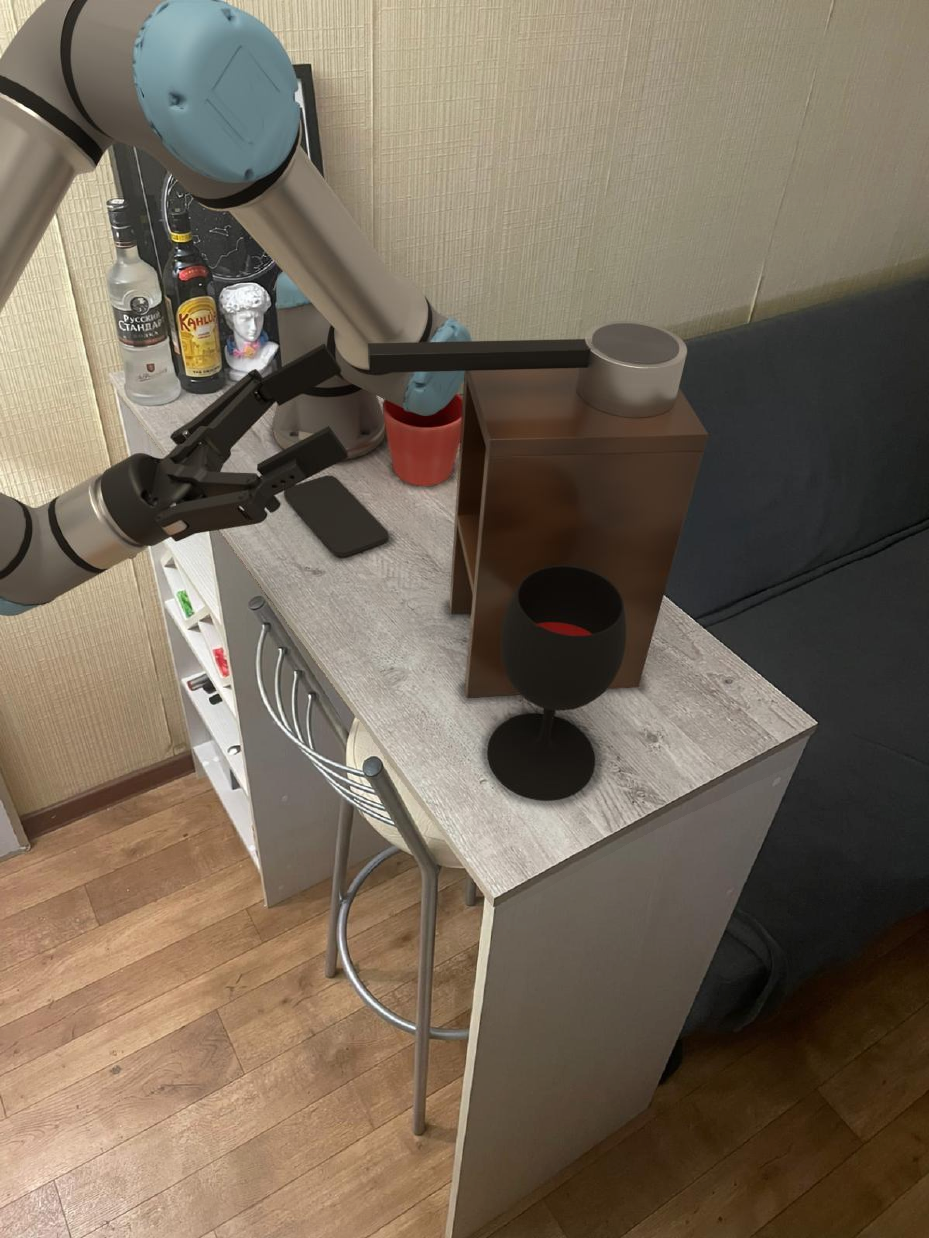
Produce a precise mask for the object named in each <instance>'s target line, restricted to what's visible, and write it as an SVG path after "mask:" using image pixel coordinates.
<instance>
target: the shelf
mask: <svg viewBox="0 0 929 1238" xmlns="http://www.w3.org/2000/svg"><path fill="white" fill-rule="evenodd" d="M464 372H465V373H464V380H463V385H462V386H463V389H462V398H463V402H462V417H461V432H460V444H459V447H458V450H459V451H458V464H457V466H458V467H457V479H456V480H457V481H456V494H455V495H456V496H455V498H456V499H455V512H454V526H453V543H452V557H451V570H450V571H451V573H450V588H449V601H448V606H449V612H450V614H451V615H461V614H462V615H463V614H470V623H469V637H468V645H467V647H468V648H467V659H466V670H465V683H464V689H465V690H464V691H465V695H466V698H467V699H469V698H484V697H499V696H515V695H517V696H518V695H521V694H520V693H519V692H518V691H517V690H516V689H515V687H514V686H513V685H512V684H511V682H510V680H509V678H508V677H507V675H506V673H505V670H504V667H503V663H502V659H501V651H500V637H501V629H502V624H503V620H504V617H505V614H506V611H507V608H508V606H509V603H510V601H511V599H512V597H513V595H514V593H515V591H516V589H517V588H518V586H519V584H520V583H521V582H522V580H523V579H524V578H525V577H526V576H527V575H529V574H530V573H532V572H534V571H536V570H538V569H541V568H544V567H549V566H558V565H566V566H576V567H580V568H585V569H588V570H590V571H593V572H595V573H598V574H600V575H601V576H603V577H605V578H606V579H607V580H609V581H610V582H611V583H612V584H613V585H614V586H615V587H616V588H617V589H618V591H619V592H620V594H621V596H622V599H623V603H624V609H625V616H626V645H625V651H624V656H623V660H622V663H621V666H620V669H619V671H618V673H617V675H616V677H615V678H614V680H613V682H612V683H611V684H610V686H609V687H608V688H607V690H610V689H624V688H627V689H628V688H638V687H639V686H640V683H641V679H642V675H643V672H644V669H645V666H646V665H645V664H646V661H647V657H648V654H649V650H650V646H651V643H652V639H653V635H654V633H655V628H656V625H657V621H658V617H659V615H660V610H661V606H662V603H663V600H664V597H665V593H666V589H667V586H668V581H669V578H670V574H671V571H672V567H673V563H674V559H675V556H676V552H677V549H678V545H679V541H680V538H681V534H682V531H683V527H684V523H685V520H686V517H687V513H688V510H689V506H690V502H691V498H692V495H693V491H694V487H695V484H696V480H697V478H698V477H697V476H698V473H699V470H700V466H701V462H702V459H703V455H704V451H705V448H706V445H707V442H708V438H709V433H708V432H707V430H706V428H705V427H704V425H703V424H702V422H701V420H700V418H699V417H698V416H697V414H696V412H695V411H694V409H693V408H692V406H691V405H690V403H689V401H688V400H687V398H686V396H685V395H684V393H683V392H682V390H681V389H680V387H679V388H678V392H677V396H676V400H675V403H674V405H673V407H672V408H671V409H669V410H668V411H667V412H665V413H662V414H660V415H656V416H652V417H643V418H631V417H622V416H617V415H612V414H609V413H606V412H603V411H600V410H598V409H596V408H594V407H592V406H590V405H589V404H587V403H586V402H585V401H584V400H583V399H582V398H581V397H580V395H579V394H578V391H577V381H578V375H579V368H556V369H516V370H475V371H464Z"/></svg>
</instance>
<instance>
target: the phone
mask: <svg viewBox="0 0 929 1238" xmlns="http://www.w3.org/2000/svg"><path fill="white" fill-rule="evenodd" d="M283 497H284V499H285V500H286V502H288V503H289V504H290V506H291V507H292V508H293V509H294V511H295V512H296V513H297V514H298V515H299V516H300V517H301V518H302V520H303V521H304V522H305V523H306V524H307V526H308V527H309V528H310V529H311V530H312V532H314V534H315V535H316V536H317V537H318V538H319V539H320V541H321V542H322V543H323V544H324V545H325V546H326V547H327V548H328V550H329V551H330V552H331V553H332V554H333V555H334V556H336V557H339V558H345V557H349V556H352V555H355V554H358V553H361V552H363V551H366V550H368V549H372V548H374V547H378V546H380V545H383V544H385V543H386V542H388V541H389V532H388V530H387V529H386V528H385V527H384V526H383V525H382V524H381V523H380V522H379V521H378V519H377V518H376V517H375V516H374V515H372V514H371V512H370V511H369V510H368V509H367V508H366V507H365V506H364V505H363V504H362V503H361V502H360V501H359V500H358V498H356V496H355V495H353V493H352V492H350V490H348V488H347V487H346V486H345V485H344V484H343V483H342V482H341V481H340V480H339V479H338V478H337V477H335V476H334V475H324V476H323V475H322V476H320V477H316V478H313V479H311V480H306V481H304V482H303V481H302V482H300V483H298V484H296V485H294V486H292V487H290V488H288V489H286V490H284V491H283Z"/></svg>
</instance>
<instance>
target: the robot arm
mask: <svg viewBox="0 0 929 1238" xmlns="http://www.w3.org/2000/svg"><path fill="white" fill-rule="evenodd" d="M298 91H299V82H298V78H297V74H296V71H295V69H294V65H293V63H292V61H291V59H290V57H289V55H288V53H287V51H286V49H285V47H284V46H283V44H282V42H281V41H280V40H279V39H278V37H277V36H276V35H275V33H274V32H273V31H272V30H271V29H270V28H269V27H268V26H267V25H266V24H265V23H264V22H262V21H261V20H260V19H259V18H258V17H255V16H254V15H253V14H251V13H249V12H247V11H244V10H242V9H240V8H239V7H236V6H235V5H231V4H230V3H228V2H226V1H224V0H44V1H43V2H41V4H40V5H39V6H38V7H37V8H36V9H35V10H34V12H32V14H30V16H29V17H28V18H27V19H26V20H25V21H24V23H23V24H22V25H21V27H20V28H19V29H18V31H17V32H16V34H14V36H13V38H12V40H11V41H10V43H9V45H7V47H6V48H5V50H4V52H3V54H2V55H1V57H0V314H2V311H3V310H4V308H5V306H6V304H7V303H8V301H9V299H10V297H11V295H12V294H13V291H14V289H15V288H16V286H17V284H18V282H19V280H20V278H21V277H22V275H23V273H24V272H25V270H26V268H27V266H28V264H29V262H30V261H31V259H32V257H33V256H34V253H35V252H36V250H37V248H38V246H39V244H40V243H41V240H42V238H44V235H45V233H46V231H47V230H48V228H49V226H50V224H51V223H52V220H53V218H54V217H55V215H56V213H57V211H58V210H59V208H60V206H61V204H62V202H63V200H64V198H65V197H66V195H67V194H68V191H69V190H70V188H71V185H72V184H73V182H74V180H75V178H76V177H78V176H79V175H84V174H89V173H94V172H95V170H96V168H97V167H98V166H99V163H100V161H101V160H102V158H103V156H104V154H105V153H106V152H107V150H108V149H109V148H110V147H111V146H113V145H114V144H115V143H117V142H120V143H122V144H125V145H128V146H130V147H133V148H136V149H138V150H141V151H143V152H145V153H147V154H148V155H150V156H151V157H153V158H154V159H155V160H157V161H158V162H159V163H160V164H161V166H162V167H164V169H165V170H166V171H167V172H168V173H170V175H171V176H172V177H173V179H175V180H176V181H177V182H178V183H179V184H180V185H181V186H182V187H183V189H185V191H186V192H187V193H188V194H189V195H190V196H191V197H192V199H194V200H195V201H196V202H197V203H198V204H199V205H201V206H202V207H204V208H206V209H208V210H211V211H216V212H229V213H230V214H231V215H232V216H233V218H234V219H235V220H236V221H237V222H238V223H239V224H240V225H241V226H242V228H244V229H245V231H246V232H247V233H248V234H249V235H250V237H252V238H253V240H254V241H255V242H256V243H257V244H258V245H259V247H261V249H262V250H263V251H265V253H266V254H267V255H268V256H269V257H270V258H271V260H272V261H273V262H274V263H275V264H276V266H277V267H278V268H279V269H280V270H281V271H282V272H280V274H279V276H278V277H277V280H276V284H275V290H276V291H275V292H276V302H275V304H274V306H275V311H276V319H277V321H276V322H277V330H278V331H277V332H278V338H279V350H280V359H281V360H280V361H281V367H279V368H278V369H276V370H274V371H272V372H271V373H269V374H267V375H265V376H264V377H263V376H262V374H261V372H259V370H258V369H257V368H254V369H251V370H249V372H247V374H245V375H244V376H243V377H242V378H241V379H239V380H238V381H237V382H236V383H234V384H233V385H232V386H231V387H230V388H229V389H227V390H226V391H225V392H224V393H223V394H221V395H220V396H219V397H218V398H216V399H215V400H214V401H213V402H212V403H210V404H209V405H208V406H207V407H206V408H204V410H201V412H200V413H198V414H197V415H196V416H194V418H192V419H191V420H190V421H188V422H187V423H186V424H183V425H182V426H181V427H179V428H177V429H176V430H174V431H173V432H172V433H171V434H170V436H169V438H170V439H171V440H172V442H173V443H174V444H175V445H176V446H175V447H174V448H173V449H172V450H171V451H170V452H169V453H168V454H167V455H165V457H163V458H159V457H155V456H152V455H150V454H148V453H144V452H137V453H134V454H132V455H129V456H128V457H126V458H124V459H122V460H121V461H119V462H117V463H115V464H114V465H112V466H110V467H108V468H106V469H105V470H104V471H103V473H97V474H94V475H93V476H91V477H89V478H87V479H85V480H84V481H81V482H80V483H79V484H77V485H75V486H73V487H72V488H70V489H68V490H66V491H65V492H63V493H61V494H60V495H58V496H56V497H54V498H52V499H51V500H50V501H48V502H46V503H44V504H42V505H40V506H37V507H32V506H30V505H27V504H26V503H24V502H22V501H20V500H18V499H16V498H14V497H12V496H10V495H7V494H6V493H3V492H1V491H0V616H5V617H14V616H19V615H22V614H24V613H26V612H29V611H30V610H33V609H35V608H38V607H39V606H42V607H43V606H45V605H47V604H50V603H52V602H54V600H56V599H57V598H59V597H60V596H62V595H65V594H67V593H68V592H70V591H72V590H73V589H75V588H77V587H79V586H81V585H82V584H85V583H86V582H88V581H90V580H91V579H93V578H95V577H97V576H99V575H101V574H102V573H105V572H106V571H108V570H109V569H111V568H113V567H114V566H117V565H119V564H121V563H122V562H124V561H127V560H128V559H129V560H133V559H135V558H137V556H138V554H140V553H141V552H143V551H145V550H147V548H148V547H153V546H156V545H158V544H160V543H162V542H164V541H166V540H168V539H172V540H173V541H174V542H179V541H182V540H184V539H187V538H189V537H191V536H193V535H195V534H201V533H209V532H215V531H220V530H226V529H232V528H239V527H245V526H251V525H258V524H261V523H263V522H265V520H266V519H267V518H268V515H269V514H268V512H269V513H270V514H273V513H275V512H276V511H278V510H279V509H280V507H281V505H282V503H281V501H280V500H279V499H278V498H277V497H276V496H277V495H279V494H280V493H283V492H284V490H286V489H288V488H290V487H292V486H294V485H297V484H300V483H303V481H305V480H307V479H309V478H311V477H313V476H316V475H317V474H318V473H321V472H322V471H324V470H326V469H328V468H330V467H332V466H334V465H336V464H338V463H340V462H342V461H346V460H347V461H348V460H352V459H356V458H360V457H362V456H364V455H366V454H369V453H371V452H372V451H374V450H375V449H376V448H378V447H379V446H380V445H381V444H382V442H383V440H384V438H385V435H386V427H385V421H384V415H383V408H382V406H381V404H380V400H379V398H381V399H382V400H387V401H389V402H391V403H393V404H396V405H398V406H400V407H402V408H404V410H405V411H407V412H409V411H410V412H414V413H417V414H419V415H423V416H429V415H433V414H435V413H437V412H438V411H439V410H442V409H443V408H444V407H445V406H446V405H447V404H448V403H449V402H450V401H451V400H452V399H453V397H454V396H455V394H456V393H457V394H458V391H459V390H460V387H461V386H462V384H463V383H464V373H465V372H464V371H435V372H394V373H370V370H369V364H368V343H408V342H459V341H472V337H471V333H470V331H469V329H468V328H467V327H466V325H464V324H463V323H461V322H459V321H458V320H457V319H456V318H454V317H450V318H448V317H447V316H445V315H442V314H441V313H439V311H437V310H436V309H435V308H434V307H433V305H432V304H431V302H430V301H429V299H428V298H427V297H426V294H424V292H423V291H422V289H421V288H420V287H419V286H418V285H417V284H416V283H415V282H414V281H412V280H411V279H408V278H406V277H403V276H400V275H394V274H393V272H392V271H391V270H390V268H389V267H388V265H387V264H386V263H385V262H384V260H383V259H382V257H381V255H379V253H378V252H377V250H376V249H375V248H374V246H373V245H372V243H371V242H370V240H369V239H368V238H367V236H366V235H365V233H364V232H363V230H362V229H361V228H360V227H359V225H358V224H357V223H356V221H355V220H354V218H353V217H352V215H351V214H350V213H349V211H348V210H347V209H346V207H345V205H344V204H343V203H342V202H341V200H340V199H339V197H338V196H337V195H336V193H335V192H334V191H333V189H332V188H331V186H330V185H329V183H328V182H327V181H326V179H325V178H324V176H323V175H322V173H321V172H320V171H319V170H318V168H317V167H316V166H315V163H313V161H312V160H311V158H310V157H309V156H308V154H307V153H306V152H305V150H304V148H303V147H302V146H301V143H302V137H303V136H302V135H303V128H302V127H303V125H302V121H301V104H300V103H299V102H298V101H296V93H297V92H298ZM378 397H379V398H378ZM275 403H276V407H275V410H274V411H275V412H274V415H273V418H272V427H273V435H274V439H275V442H276V443H277V444H278V445H279V446H280V447H281V449H283V450H281V451H279V452H277V453H275V454H273V455H272V456H270V457H268V458H266V459H264V460H262V461H259V462H258V463H257V464H256V470H257V472H258V473H259V475H258V474H257V473H255V472H254V473H253V472H234V471H233V472H232V471H230V472H229V471H222V469H223V466H224V464H225V463H227V461H228V460H230V458H231V456H232V448H233V447H234V446H235V445H236V444H237V443H238V442H239V441H240V440H241V438H243V437H244V435H246V434H247V432H248V431H249V430H250V429H251V428H252V427H253V426H254V425H255V424H256V423H257V422H258V421H259V420H260V419H261V418H262V417H263V416H264V415H265V413H267V411H268V410H270V408H271V407H272V406H273V405H274V404H275ZM266 510H267V511H266Z"/></svg>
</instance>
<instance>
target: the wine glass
mask: <svg viewBox="0 0 929 1238" xmlns="http://www.w3.org/2000/svg"><path fill="white" fill-rule="evenodd" d="M625 645H626V616H625V609H624V603H623V599H622V596H621V594H620V592H619V591H618V589H617V588H616V587H615V586H614V585H613V584H612V583H611V582H610V581H609V580H607V579H606V578H605V577H603V576H601V575H600V574H598V573H595V572H593V571H590V570H588V569H585V568H580V567H576V566H566V565H558V566H549V567H544V568H541V569H538V570H536V571H534V572H532V573H530V574H529V575H527V576H526V577H525V578H524V579H523V580H522V582H521V583H520V584H519V586H518V588H517V589H516V591H515V593H514V595H513V597H512V599H511V601H510V603H509V606H508V608H507V611H506V614H505V617H504V620H503V624H502V629H501V637H500V651H501V659H502V663H503V667H504V670H505V673H506V675H507V677H508V678H509V680H510V682H511V684H512V685H513V686H514V687H515V689H516V690H517V691H518V692H519V693H520V694H519V695H520V696H522V697H523V698H524V699H525V700H527V701H528V702H530V703H531V704H533V705H535V706H537V707H539V708H542V712H530V713H523V714H519V715H516V716H513V717H510V718H509V719H506V720H505V721H504V722H502V723H500V724H499V725H498V726H497V727H496V729H495V730H494V731H493V732H492V734H491V736H490V738H489V740H488V742H487V743H488V745H487V750H486V753H487V761H488V766H489V767H490V770H491V772H492V774H493V775H494V776H495V778H496V779H497V780H498V781H499V782H500V783H501V784H502V785H503V786H505V787H506V788H507V789H508V790H510V791H511V792H513V793H515V794H517V795H520V796H521V797H524V798H527V799H532V800H536V801H556V800H562V799H566V798H568V797H571V796H572V795H575V794H576V793H578V792H580V791H582V790H583V788H584V787H586V786H587V785H588V783H589V782H590V780H591V779H592V776H593V774H594V772H595V766H596V755H595V749H594V748H593V747H594V746H593V744H592V742H591V741H590V739H589V738H588V737H587V735H586V734H585V733H584V732H583V731H582V730H581V729H580V728H579V727H577V725H575V724H573V723H572V722H571V721H568V720H567V719H564V718H563V717H559V716H556V712H557V711H559V712H564V711H571V710H576V709H579V708H581V707H585V706H586V705H588V704H591V703H592V702H593V701H595V700H596V699H598V698H599V697H600V696H601V695H603V694H604V693H605V692H606V691H607V690H608V689H607V688H608V687H609V686H610V684H611V683H612V682H613V680H614V678H615V677H616V675H617V673H618V671H619V669H620V666H621V663H622V660H623V656H624V651H625Z"/></svg>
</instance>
